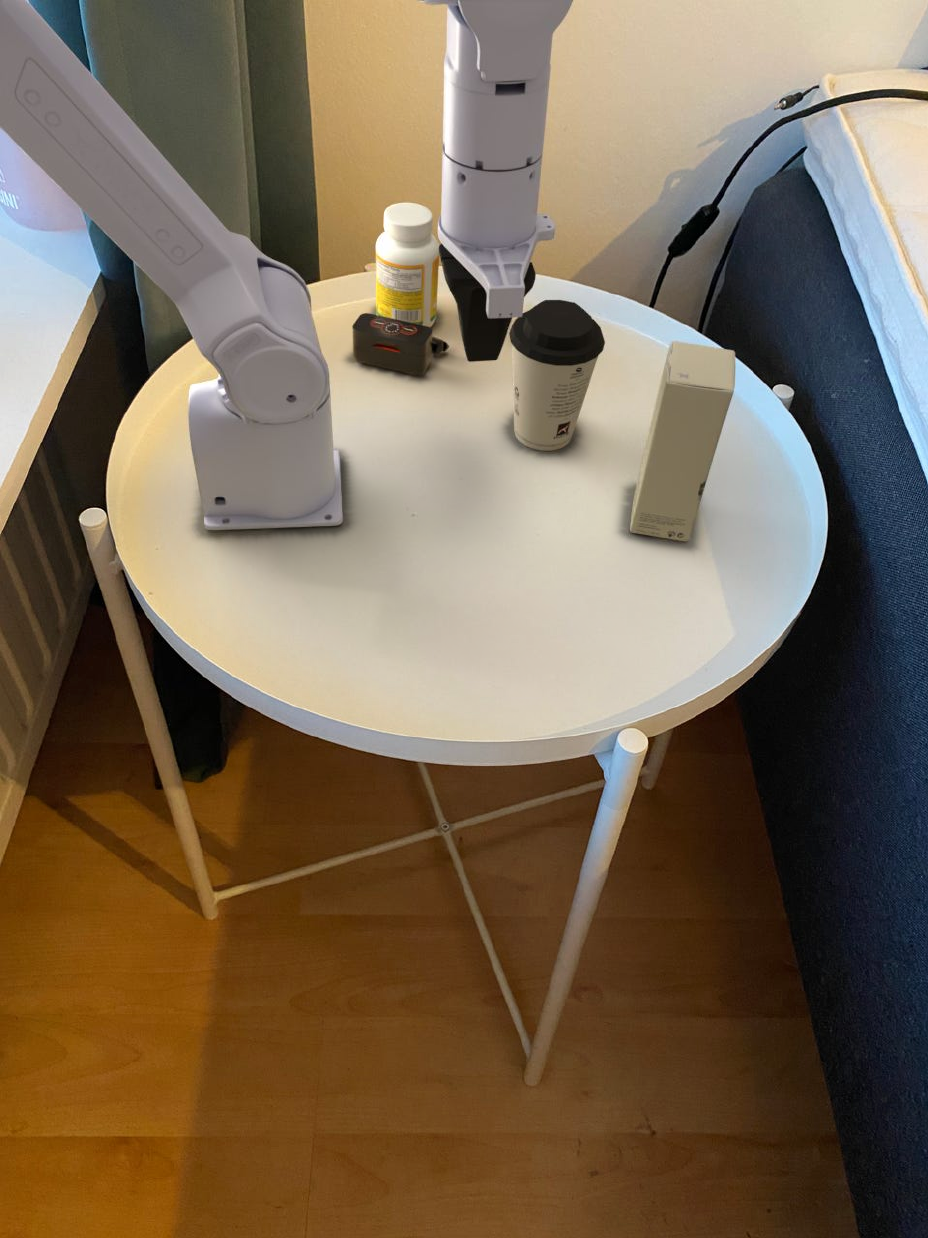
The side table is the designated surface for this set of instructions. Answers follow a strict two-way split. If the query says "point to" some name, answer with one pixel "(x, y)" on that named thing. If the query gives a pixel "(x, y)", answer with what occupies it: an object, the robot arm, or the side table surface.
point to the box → (682, 439)
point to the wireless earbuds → (395, 344)
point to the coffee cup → (552, 371)
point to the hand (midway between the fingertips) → (481, 355)
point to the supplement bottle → (407, 265)
